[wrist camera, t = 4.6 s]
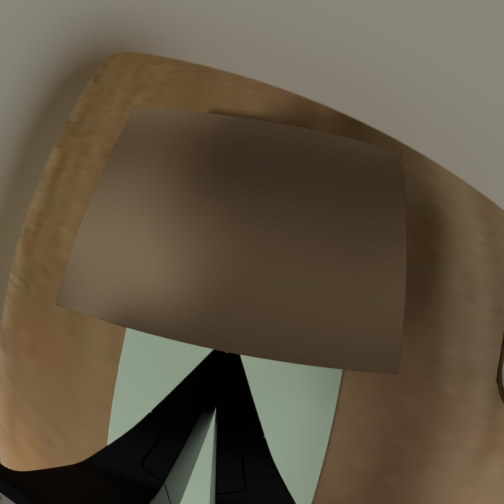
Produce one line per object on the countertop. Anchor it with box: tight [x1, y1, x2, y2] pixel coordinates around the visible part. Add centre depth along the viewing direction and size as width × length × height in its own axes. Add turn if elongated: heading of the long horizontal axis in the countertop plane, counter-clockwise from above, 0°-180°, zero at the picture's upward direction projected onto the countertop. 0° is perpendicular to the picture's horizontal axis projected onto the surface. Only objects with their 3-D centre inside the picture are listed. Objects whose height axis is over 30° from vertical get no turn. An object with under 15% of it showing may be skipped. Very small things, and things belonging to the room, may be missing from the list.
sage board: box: [107, 328, 342, 504], centre depth 15 cm, size 18×12×2 cm, turn 169°
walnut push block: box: [56, 108, 407, 374], centre depth 12 cm, size 6×8×10 cm
